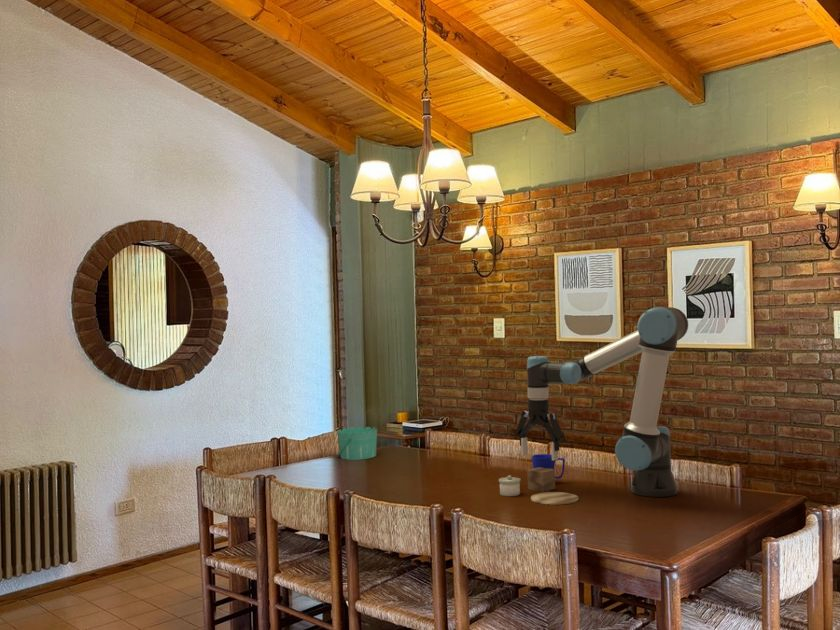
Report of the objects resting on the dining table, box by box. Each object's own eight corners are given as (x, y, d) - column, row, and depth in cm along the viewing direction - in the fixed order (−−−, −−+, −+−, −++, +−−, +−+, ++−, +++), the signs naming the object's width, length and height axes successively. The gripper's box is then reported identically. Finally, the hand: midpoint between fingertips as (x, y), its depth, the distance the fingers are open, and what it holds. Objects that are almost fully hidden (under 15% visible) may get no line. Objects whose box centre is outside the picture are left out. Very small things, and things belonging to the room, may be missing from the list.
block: (555, 488, 269) (554, 469, 269) (543, 492, 264) (542, 472, 264) (539, 486, 274) (538, 467, 274) (527, 489, 269) (527, 470, 269)
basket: (361, 461, 337) (360, 433, 337) (329, 458, 347) (329, 431, 347) (385, 454, 353) (384, 427, 353) (355, 452, 363) (354, 425, 363)
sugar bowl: (525, 493, 263) (524, 474, 263) (511, 497, 258) (510, 478, 258) (508, 490, 268) (507, 472, 269) (494, 494, 263) (494, 475, 263)
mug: (565, 485, 274) (564, 458, 274) (532, 485, 276) (531, 457, 276) (565, 480, 282) (564, 454, 282) (533, 480, 284) (532, 454, 284)
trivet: (588, 498, 253) (588, 496, 253) (560, 507, 242) (560, 505, 242) (549, 491, 264) (549, 489, 264) (521, 500, 253) (521, 498, 253)
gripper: (573, 400, 263) (574, 460, 263) (517, 395, 281) (518, 452, 281) (560, 402, 258) (562, 463, 258) (504, 397, 276) (506, 455, 276)
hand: (539, 457), depth 270 cm, fingers open, 13 cm apart
